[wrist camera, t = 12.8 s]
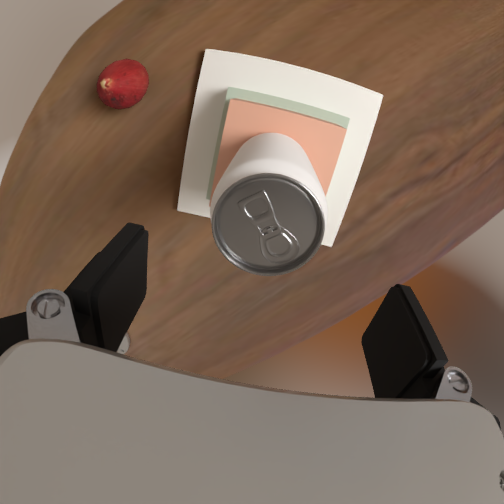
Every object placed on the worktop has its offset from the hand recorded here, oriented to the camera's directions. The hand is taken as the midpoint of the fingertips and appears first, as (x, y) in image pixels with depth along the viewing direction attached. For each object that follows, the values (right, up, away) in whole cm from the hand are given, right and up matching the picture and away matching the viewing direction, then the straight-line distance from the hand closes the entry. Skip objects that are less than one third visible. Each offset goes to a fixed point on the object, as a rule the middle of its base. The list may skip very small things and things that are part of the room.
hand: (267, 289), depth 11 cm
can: (+1, +9, +14) cm, 17 cm away
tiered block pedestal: (+2, +13, +22) cm, 26 cm away
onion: (-14, +22, +19) cm, 32 cm away
